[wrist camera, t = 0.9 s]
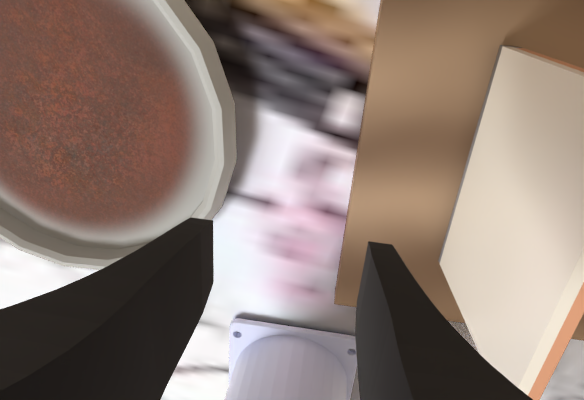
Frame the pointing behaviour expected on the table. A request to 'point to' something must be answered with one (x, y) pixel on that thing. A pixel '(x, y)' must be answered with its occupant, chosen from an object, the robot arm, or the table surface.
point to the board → (434, 123)
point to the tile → (522, 218)
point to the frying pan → (108, 126)
